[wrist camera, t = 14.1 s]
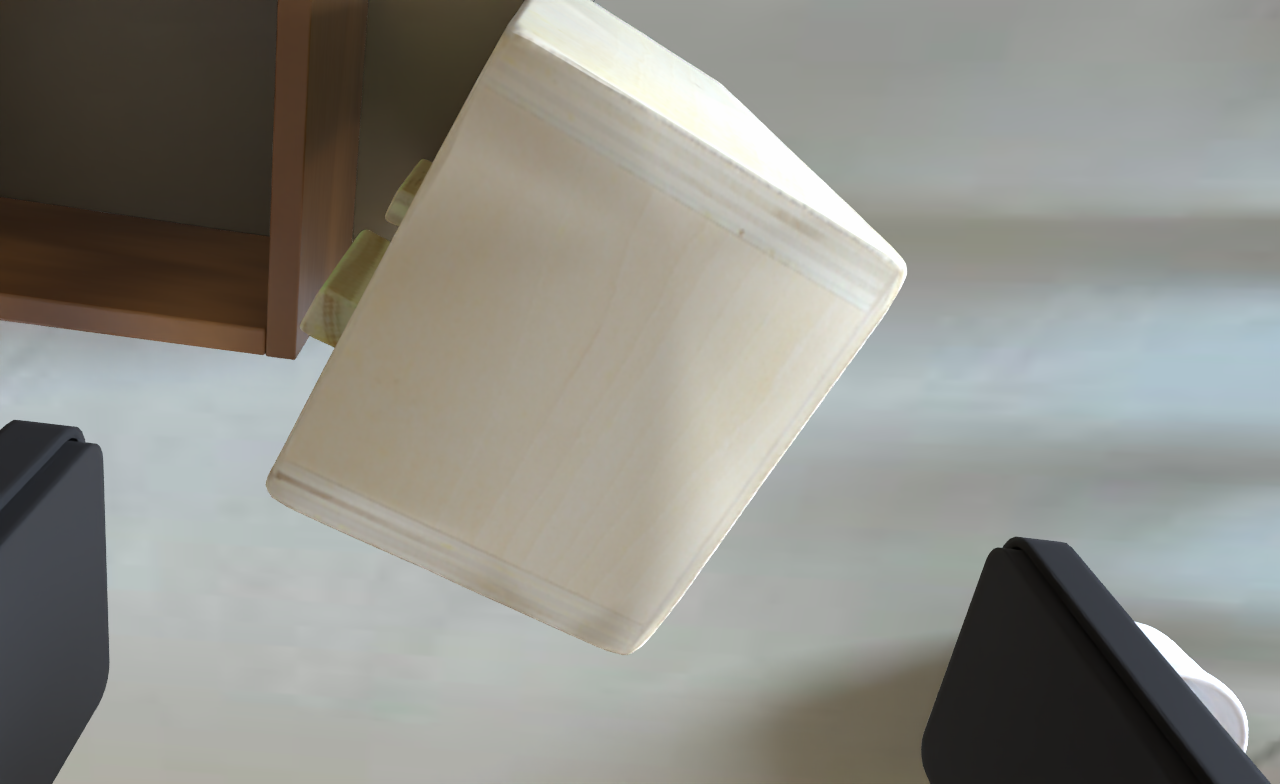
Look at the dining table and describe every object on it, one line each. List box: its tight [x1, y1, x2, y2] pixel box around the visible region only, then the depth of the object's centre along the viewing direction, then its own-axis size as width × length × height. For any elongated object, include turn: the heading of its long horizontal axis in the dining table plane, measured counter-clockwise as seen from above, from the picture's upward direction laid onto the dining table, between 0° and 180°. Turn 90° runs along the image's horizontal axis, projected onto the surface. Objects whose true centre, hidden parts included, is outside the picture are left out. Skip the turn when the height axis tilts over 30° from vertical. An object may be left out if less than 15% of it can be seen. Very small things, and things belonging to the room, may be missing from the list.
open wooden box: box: [0, 0, 368, 360], centre depth 28 cm, size 13×13×8 cm
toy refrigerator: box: [266, 0, 907, 655], centre depth 24 cm, size 8×7×21 cm
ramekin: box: [1135, 622, 1248, 752], centre depth 43 cm, size 9×9×4 cm
